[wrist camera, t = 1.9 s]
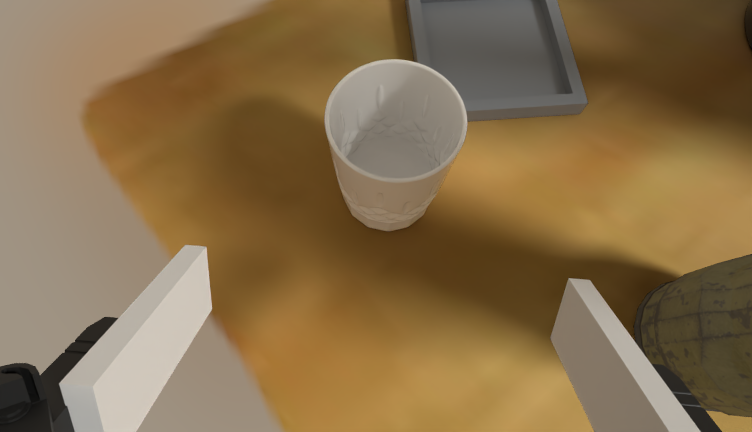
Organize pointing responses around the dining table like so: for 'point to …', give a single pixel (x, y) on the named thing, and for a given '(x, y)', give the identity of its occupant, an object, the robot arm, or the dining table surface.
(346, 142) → the white cup
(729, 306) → the thermos
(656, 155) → the dining table surface
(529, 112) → the charcoal tray
